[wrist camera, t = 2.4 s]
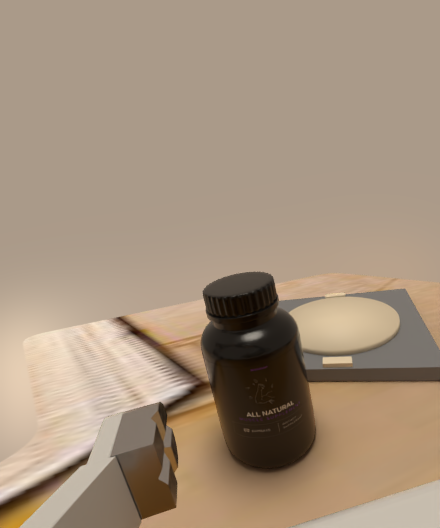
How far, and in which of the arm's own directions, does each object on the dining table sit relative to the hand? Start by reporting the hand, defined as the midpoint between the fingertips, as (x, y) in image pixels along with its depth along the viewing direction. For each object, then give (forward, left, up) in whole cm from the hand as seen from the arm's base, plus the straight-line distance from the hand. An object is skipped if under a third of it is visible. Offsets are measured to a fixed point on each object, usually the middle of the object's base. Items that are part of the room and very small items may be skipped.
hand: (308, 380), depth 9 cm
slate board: (-1, +25, -13) cm, 28 cm away
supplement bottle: (-6, +11, -13) cm, 18 cm away
